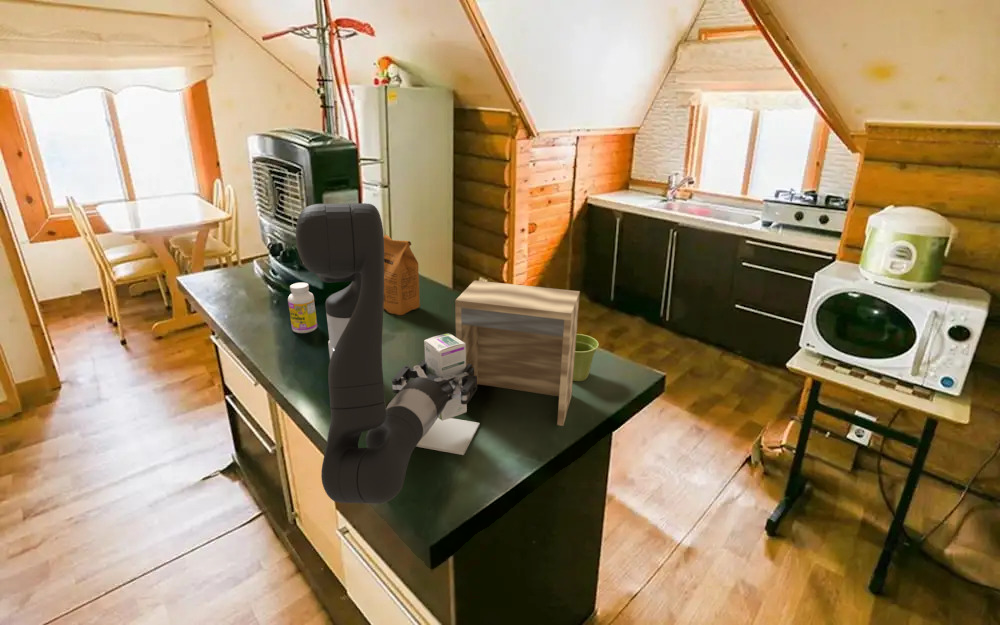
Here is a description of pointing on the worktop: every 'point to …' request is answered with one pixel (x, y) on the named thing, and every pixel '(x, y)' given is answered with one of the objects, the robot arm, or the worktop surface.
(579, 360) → the plant pot
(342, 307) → the robot arm
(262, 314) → the worktop surface
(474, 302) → the hutch
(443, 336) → the syrup box
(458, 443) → the mat
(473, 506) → the worktop surface
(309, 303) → the supplement bottle
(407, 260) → the coffee package
